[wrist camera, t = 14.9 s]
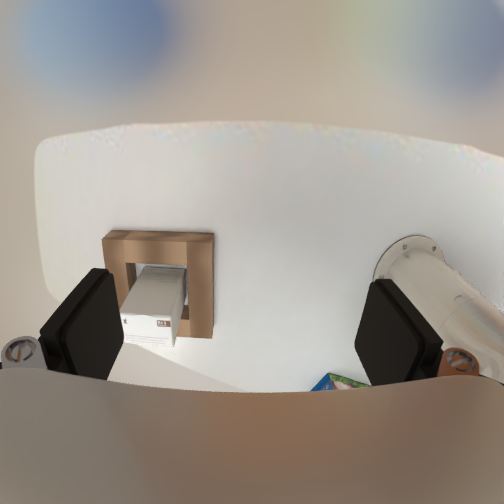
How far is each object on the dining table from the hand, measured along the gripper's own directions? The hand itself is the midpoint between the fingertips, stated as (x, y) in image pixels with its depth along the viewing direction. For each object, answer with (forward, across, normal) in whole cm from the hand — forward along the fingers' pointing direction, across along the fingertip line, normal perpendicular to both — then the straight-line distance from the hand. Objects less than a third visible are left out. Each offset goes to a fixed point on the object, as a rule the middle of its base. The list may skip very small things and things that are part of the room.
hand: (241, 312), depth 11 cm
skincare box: (+28, +10, +14) cm, 33 cm away
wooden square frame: (+28, +10, +14) cm, 33 cm away
